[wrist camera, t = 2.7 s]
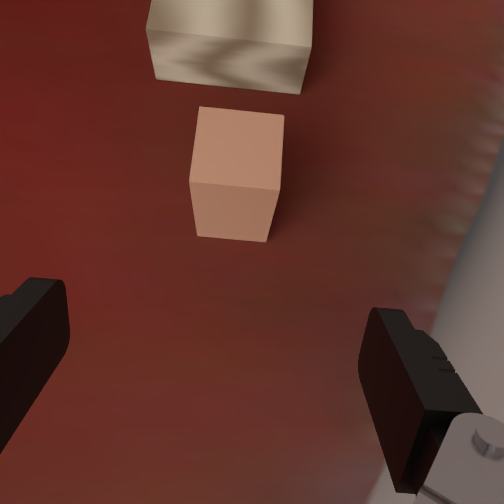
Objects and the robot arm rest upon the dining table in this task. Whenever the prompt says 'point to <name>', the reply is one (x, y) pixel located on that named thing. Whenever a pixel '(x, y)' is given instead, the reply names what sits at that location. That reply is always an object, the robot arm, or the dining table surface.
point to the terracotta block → (236, 173)
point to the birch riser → (232, 42)
